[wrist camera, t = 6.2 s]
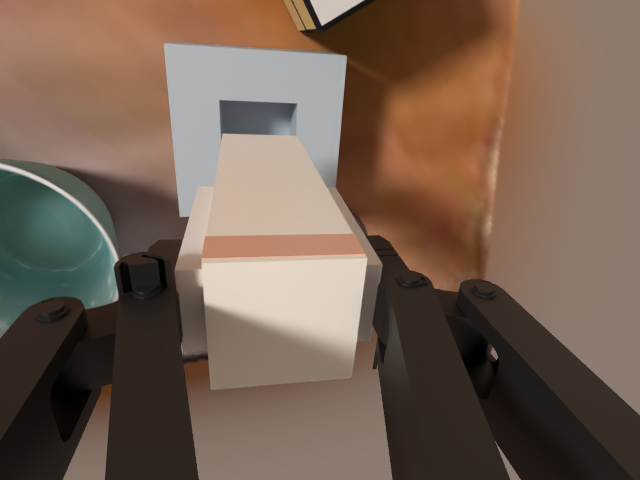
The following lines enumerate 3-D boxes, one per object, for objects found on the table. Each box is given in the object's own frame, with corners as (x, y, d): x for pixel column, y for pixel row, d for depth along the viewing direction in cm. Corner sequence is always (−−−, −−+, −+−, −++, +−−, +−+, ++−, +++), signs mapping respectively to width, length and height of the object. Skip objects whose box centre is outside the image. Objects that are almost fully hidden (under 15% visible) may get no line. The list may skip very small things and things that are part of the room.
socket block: (189, 190, 37) (179, 216, 31) (177, 41, 31) (163, 43, 26) (321, 191, 39) (333, 216, 33) (330, 52, 33) (347, 55, 28)
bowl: (137, 305, 41) (114, 364, 34) (-48, 284, 37) (-120, 345, 30) (153, 155, 35) (129, 187, 28) (-68, 109, 31) (-165, 132, 23)
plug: (224, 204, 24) (209, 390, 11) (222, 133, 22) (200, 262, 9) (294, 203, 24) (352, 378, 12) (297, 135, 22) (368, 257, 10)
